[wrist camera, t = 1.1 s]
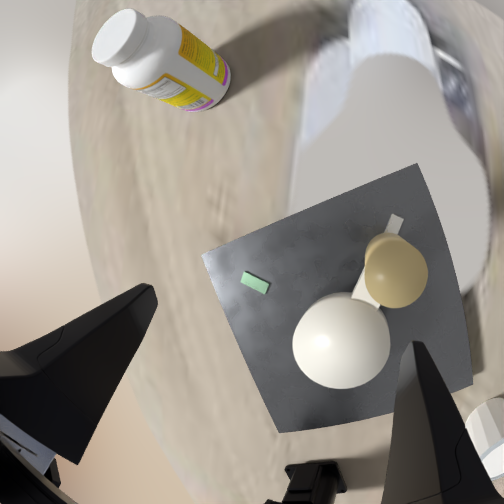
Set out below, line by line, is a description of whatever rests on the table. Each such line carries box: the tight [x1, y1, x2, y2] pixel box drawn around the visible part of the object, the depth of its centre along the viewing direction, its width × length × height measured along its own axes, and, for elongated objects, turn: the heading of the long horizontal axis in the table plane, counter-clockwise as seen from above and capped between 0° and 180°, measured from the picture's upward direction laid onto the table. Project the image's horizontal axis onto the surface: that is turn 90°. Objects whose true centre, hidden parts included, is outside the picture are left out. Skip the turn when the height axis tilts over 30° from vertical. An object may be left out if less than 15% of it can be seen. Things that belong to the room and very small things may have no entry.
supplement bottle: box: [92, 8, 231, 112], centre depth 20 cm, size 7×7×13 cm
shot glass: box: [465, 398, 504, 481], centre depth 16 cm, size 7×7×7 cm
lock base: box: [201, 163, 473, 433], centre depth 23 cm, size 20×20×3 cm
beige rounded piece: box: [293, 232, 428, 389], centre depth 17 cm, size 12×7×8 cm, turn 160°
